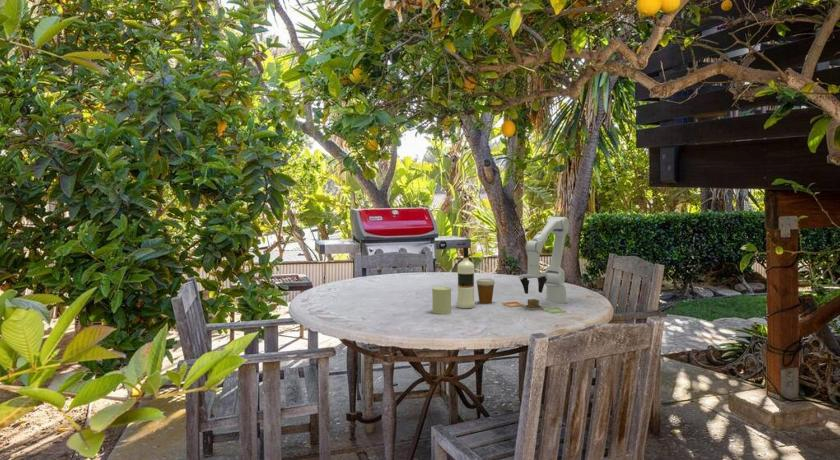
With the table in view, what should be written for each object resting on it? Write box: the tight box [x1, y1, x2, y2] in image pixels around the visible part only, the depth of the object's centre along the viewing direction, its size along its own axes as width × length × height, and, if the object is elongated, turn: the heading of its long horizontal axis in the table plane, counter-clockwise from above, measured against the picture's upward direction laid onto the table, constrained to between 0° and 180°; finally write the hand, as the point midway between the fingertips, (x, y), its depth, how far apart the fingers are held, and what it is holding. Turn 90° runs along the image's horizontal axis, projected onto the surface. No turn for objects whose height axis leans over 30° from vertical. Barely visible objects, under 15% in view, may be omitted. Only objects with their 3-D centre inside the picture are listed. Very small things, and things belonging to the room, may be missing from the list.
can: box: [431, 286, 452, 315], centre depth 278 cm, size 9×9×12 cm
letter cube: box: [527, 298, 540, 308], centre depth 284 cm, size 4×4×4 cm
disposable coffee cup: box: [475, 278, 496, 305], centre depth 298 cm, size 10×10×12 cm
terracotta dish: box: [501, 301, 525, 308], centre depth 291 cm, size 8×8×1 cm
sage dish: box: [542, 306, 567, 315], centre depth 277 cm, size 8×8×1 cm
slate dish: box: [521, 304, 546, 311], centre depth 284 cm, size 8×8×1 cm
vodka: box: [456, 246, 476, 310], centre depth 288 cm, size 9×9×30 cm
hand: (533, 293), depth 283 cm, fingers open, 7 cm apart
